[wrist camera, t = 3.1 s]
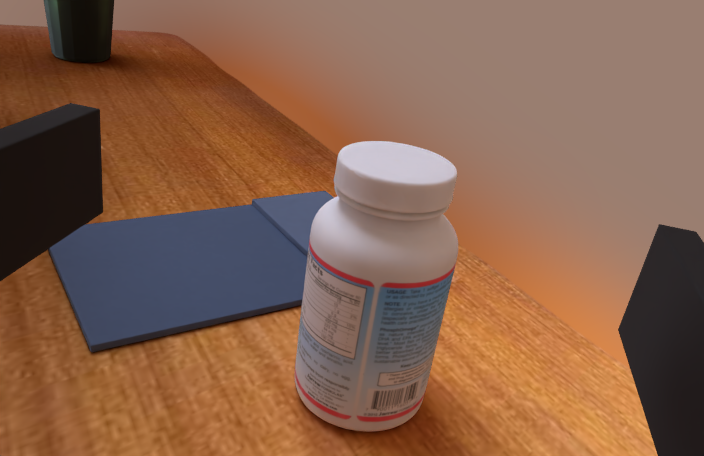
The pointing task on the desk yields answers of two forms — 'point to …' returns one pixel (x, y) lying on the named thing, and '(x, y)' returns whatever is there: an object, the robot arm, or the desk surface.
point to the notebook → (186, 268)
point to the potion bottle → (80, 29)
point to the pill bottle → (376, 286)
